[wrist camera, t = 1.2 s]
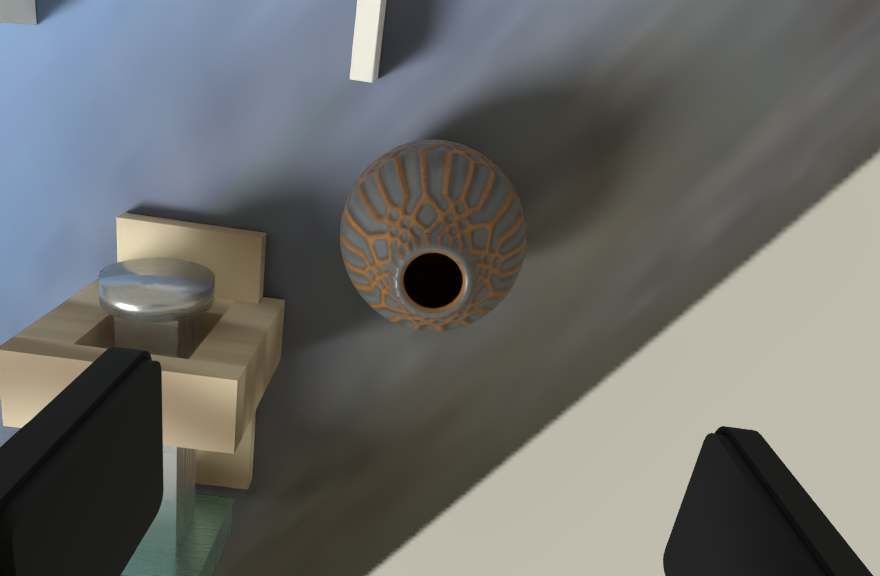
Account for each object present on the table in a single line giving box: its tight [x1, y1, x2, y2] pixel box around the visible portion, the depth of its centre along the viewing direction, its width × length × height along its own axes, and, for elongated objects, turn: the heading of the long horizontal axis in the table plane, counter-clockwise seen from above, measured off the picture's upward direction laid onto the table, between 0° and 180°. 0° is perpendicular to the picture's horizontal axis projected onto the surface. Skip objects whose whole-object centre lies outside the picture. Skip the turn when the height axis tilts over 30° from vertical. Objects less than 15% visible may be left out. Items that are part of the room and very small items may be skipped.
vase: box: [340, 139, 527, 331], centre depth 23 cm, size 7×7×9 cm
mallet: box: [98, 258, 233, 576], centre depth 25 cm, size 14×5×8 cm, turn 171°
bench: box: [0, 213, 285, 490], centre depth 26 cm, size 13×8×7 cm, turn 171°
